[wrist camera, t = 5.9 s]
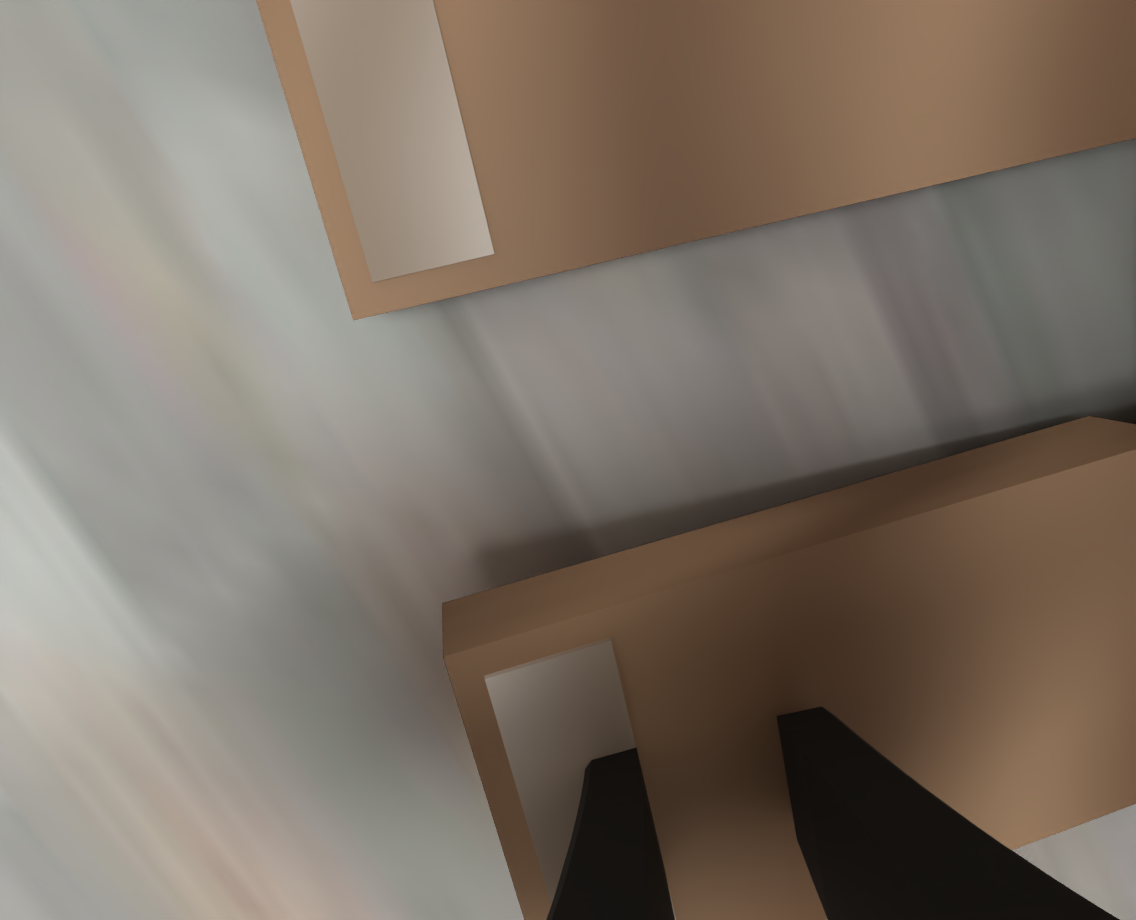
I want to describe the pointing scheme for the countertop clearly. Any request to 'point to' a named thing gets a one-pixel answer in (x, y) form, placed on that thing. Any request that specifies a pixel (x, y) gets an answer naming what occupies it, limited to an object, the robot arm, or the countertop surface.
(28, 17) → the countertop surface
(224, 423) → the countertop surface
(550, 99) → the plank near
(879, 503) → the plank far
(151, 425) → the countertop surface
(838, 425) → the countertop surface
